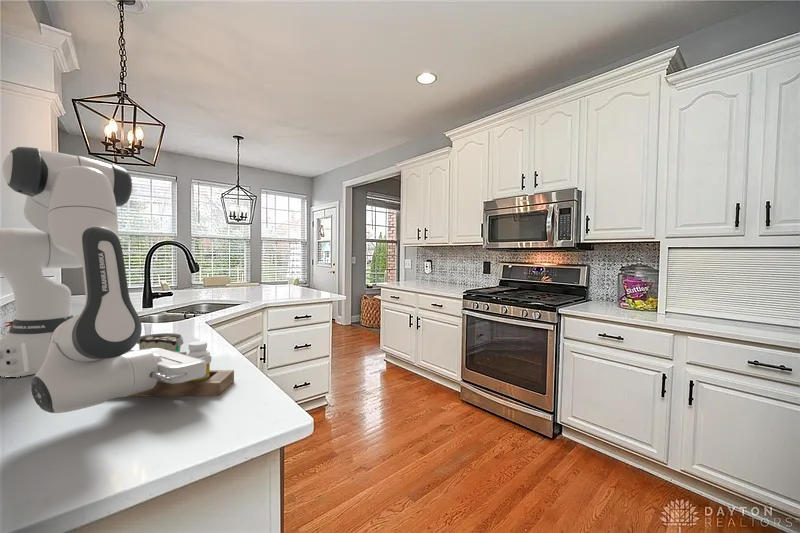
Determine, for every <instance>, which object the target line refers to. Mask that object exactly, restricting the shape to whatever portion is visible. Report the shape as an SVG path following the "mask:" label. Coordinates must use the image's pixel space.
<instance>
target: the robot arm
mask: <svg viewBox="0 0 800 533" xmlns="http://www.w3.org/2000/svg"><path fill="white" fill-rule="evenodd" d="M2 173H3V177H4V180H5V181H6V183H7V186H8V187H9V188H10V189H11V190H13V191H14V192H16V193H18V194H22V195H24V196H26V199H25V204H24V208H23V215H24V217H25V219H26V220H27V222H28V223H30V225H32V226H33V227H34V228H26V227H10V226H9V227H0V276H2V277H3V278H4V279H5V280H6V282H8V284H9V285H10V287H11V289H12V292H13V296H14V305H15V306H14V307H15V318H14V319H13V320H12V321H7V322H4V323H3V324H5V325H4V327H5V328H6V327H10V328H9V329H8V331H7V332H8V333H6V334H5V335H3V336H1V337H0V376H9V377H16V378H20V376H21V377H25V376H29V375H31V376H32V375H34V376H33V377H32V378H31V383H30V386H31V388H30V389H31V393H32V398H33V399H34V402H35V403H36V404H37V406H38V407H39V408H40V409H41V410H42V411H44V412H48V413H51V414H63V413H70V412H74V411H79V410H82V409H87V408H91V407H94V406H97V405H101V404H104V403H106V402H108V401H109V400H112V399H115V398H125V397H130V396H129V395H132V394H136V393H139V392H143V391H146V390H150V389H152V388H153V387H154V386H155V385H156V383H157V381H159V380H161V381H164V382H167V383H171V384H175V383H181V382H186V381H190V380H194V379H198V378H202V377H203V376H205V375H206V364H208V363H210V364H211V363H212V356H211V355H210V356H209V355H204V356H201V358H194V357H191V356H187V355H186V353H187V352H189V351H190V350H186V351H180V352H173V351H169V350H165V349H162V348H149V349H141V350H140V349H136V350H135V349H134V348H135V346H136V345H137V342H138V340H139V338H140V336H142V329H143V326H142V321H141V319H140V316H139V315H138V314H139V313H138V312H137V311H136V309H135V307H134V305H133V303H132V301H131V297H130V293H129V286H128V279H127V272H126V264H125V260H124V252H123V248H122V244H121V240H120V239H119V225H118V222H119V221H118V209H117V207H122V206H124V205H125V204H127V203H128V201H129V200H130V198H131V195H132V192H133V182H132V177H131V175H130V173H129V172H128V171H127V170H126V169H125V168H123V167H121V166H118V165H116V164H113V163H106V162H102V161H100V160H95V159H93V158H89V157H86V156H80V155H73V154H68V153H64V152H63V153H62V152H57V151H56V152H55V151H49V150H42V149H39V148H37V147H31V146H17V147H16V148H14V149H11V150H10V151H9V154H7V155H6V157H5V158H4V161H3V164H2ZM79 268H82V274H83V283H84V294H85V304H84V306H83V308H82V311H81V312H80V313H79V314H78V315H75V316H74V314H73V315H72V291H71V289H70V288H69V286H68V285H66V284H64V283H61V282H59V281H56V280H54V279H49V278H47V277H45V276H44V274H43V269H79ZM133 349H134V350H133Z"/></svg>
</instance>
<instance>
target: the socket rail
mask: <svg viewBox="0 0 800 533" xmlns="http://www.w3.org/2000/svg"><path fill="white" fill-rule="evenodd" d="M233 381H234V382H235V370H234V369H210V377H209V380H207V381H186V382H181V383H175V384H171V383H167V382H164V381H161V380H159V381H157V383H156V385H155V386H154V387H153V388H152V389H150V390H146V391H143V392H139V393H136V394H132V395H129V396H128V397H186V396H187V397H188V396H189V397H190V396H191V397H193V396H194V397H196V396H197V397H199V396H200V397H201V396H206V397H207V396H210V397H211V396H212V397H213V396H221V394H223V392H225V390H227V388H229V387H230V386H231V385H232V384H233V383H234V382H233ZM232 382H233V383H232ZM231 383H232V384H231ZM230 384H231V385H230ZM229 385H230V386H229ZM228 386H229V387H228Z"/></svg>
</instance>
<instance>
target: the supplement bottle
mask: <svg viewBox="0 0 800 533" xmlns="http://www.w3.org/2000/svg"><path fill="white" fill-rule="evenodd" d="M207 348H208V342H207V341H205V340H202V341H201V340H198V341H197V340H196V341H192V342H189V343H188V351H189V352H187V353H186V355H187V356H191V357H194V358H201V356H204V355H209V356H211V352H210V350H209V349H207ZM210 364H211V362H210V363H208V364H206V375H205V376H203V377H202V378H198V379H194V380H190V381H207V380H209V377H210V370H211V369H210V368H211V365H210Z"/></svg>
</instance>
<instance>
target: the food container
mask: <svg viewBox="0 0 800 533" xmlns="http://www.w3.org/2000/svg"><path fill="white" fill-rule="evenodd" d="M183 344H185V343H184V339H183V337H182V335H181V334H179V333H171V332H169V333H168V332H166V333H162V332H161V333H152V334H145V335H140V338H139V340H138V342H137V343H136V345H138V346H139V347H138V348H139V349H138V350H141V349H149V348H162V349H165V350H169V351H173V352H181V347H182V345H183Z"/></svg>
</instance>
